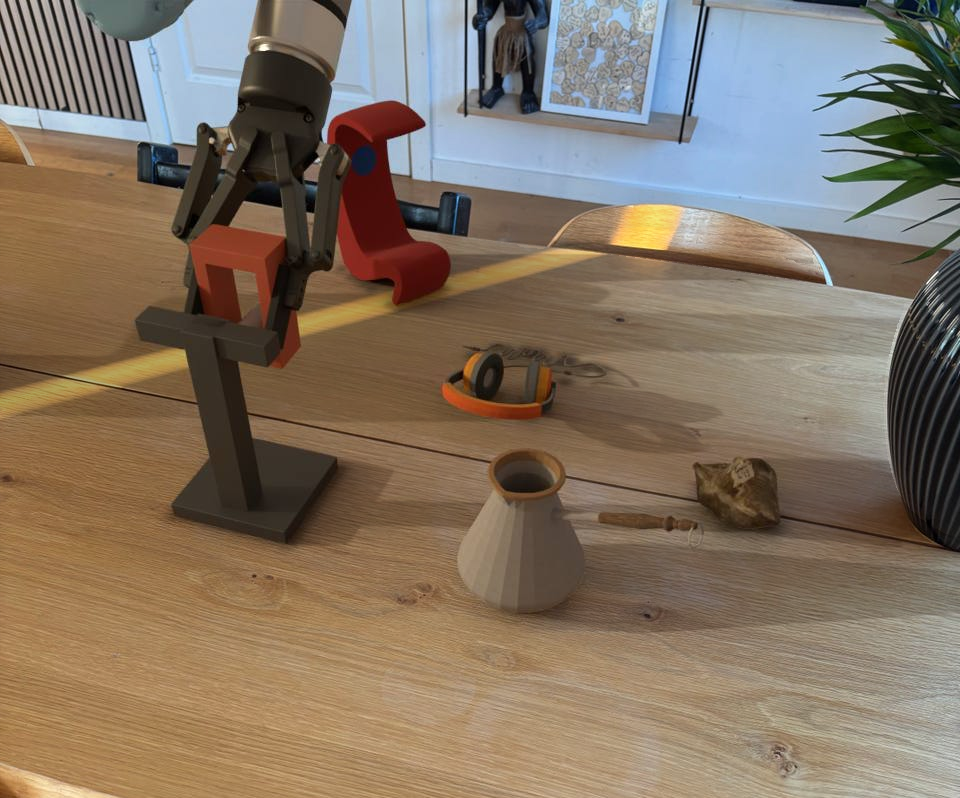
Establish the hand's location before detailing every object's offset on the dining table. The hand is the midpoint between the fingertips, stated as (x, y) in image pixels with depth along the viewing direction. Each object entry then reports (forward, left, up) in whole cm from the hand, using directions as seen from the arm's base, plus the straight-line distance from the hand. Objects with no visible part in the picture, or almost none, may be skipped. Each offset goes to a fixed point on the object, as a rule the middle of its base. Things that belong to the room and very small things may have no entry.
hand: (232, 336), depth 88 cm
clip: (0, +3, -4) cm, 5 cm away
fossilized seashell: (+45, +12, -17) cm, 50 cm away
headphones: (+19, +23, -17) cm, 35 cm away
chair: (-3, +42, -17) cm, 46 cm away
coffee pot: (+33, -6, -17) cm, 38 cm away
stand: (0, -1, -17) cm, 17 cm away
